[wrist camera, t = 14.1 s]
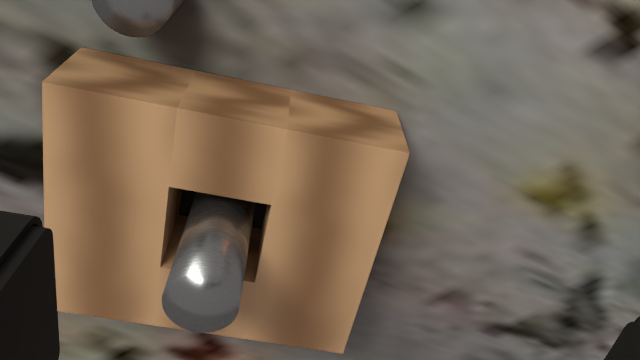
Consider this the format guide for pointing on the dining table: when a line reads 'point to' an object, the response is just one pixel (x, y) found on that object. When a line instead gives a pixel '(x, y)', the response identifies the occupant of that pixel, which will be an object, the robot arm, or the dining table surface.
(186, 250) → the tall pin
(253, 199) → the hole block
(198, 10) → the dining table surface
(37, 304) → the robot arm
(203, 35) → the dining table surface
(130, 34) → the short pin
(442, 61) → the dining table surface
